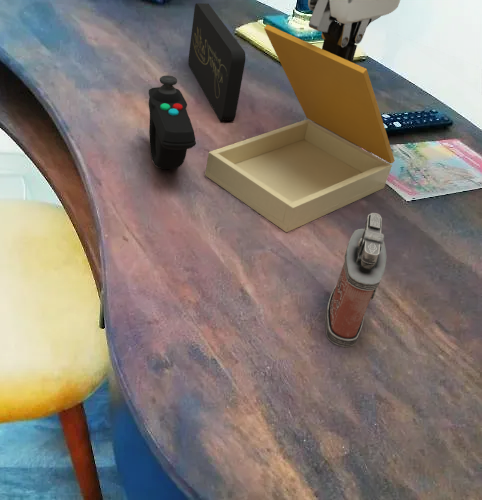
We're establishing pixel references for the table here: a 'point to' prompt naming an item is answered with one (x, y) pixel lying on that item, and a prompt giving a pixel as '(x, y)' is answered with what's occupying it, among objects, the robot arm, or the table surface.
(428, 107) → the table surface
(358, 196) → the square lidded box
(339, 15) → the robot arm
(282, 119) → the table surface
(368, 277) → the lighter
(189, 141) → the controller
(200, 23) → the nameplate
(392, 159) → the cover
